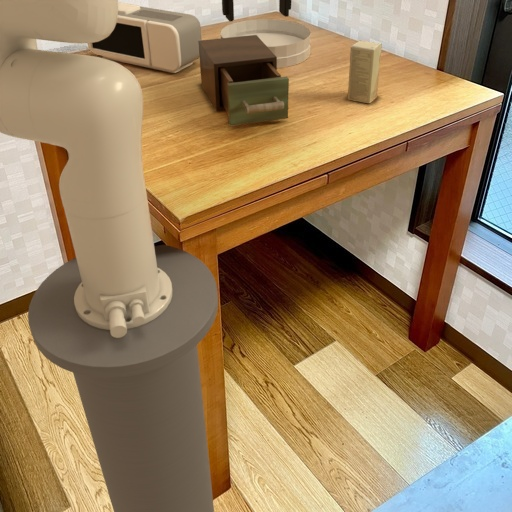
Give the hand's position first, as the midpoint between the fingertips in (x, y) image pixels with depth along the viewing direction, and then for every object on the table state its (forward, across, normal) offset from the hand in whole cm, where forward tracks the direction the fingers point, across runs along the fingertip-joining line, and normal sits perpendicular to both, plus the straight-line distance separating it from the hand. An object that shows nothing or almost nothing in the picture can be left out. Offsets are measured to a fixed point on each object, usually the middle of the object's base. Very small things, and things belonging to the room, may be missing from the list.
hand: (257, 16), depth 101 cm
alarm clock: (+20, -15, +42) cm, 49 cm away
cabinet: (+20, 0, +16) cm, 26 cm away
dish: (+20, +14, +39) cm, 46 cm away
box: (+20, +24, +6) cm, 32 cm away
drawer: (+19, 0, +5) cm, 20 cm away
